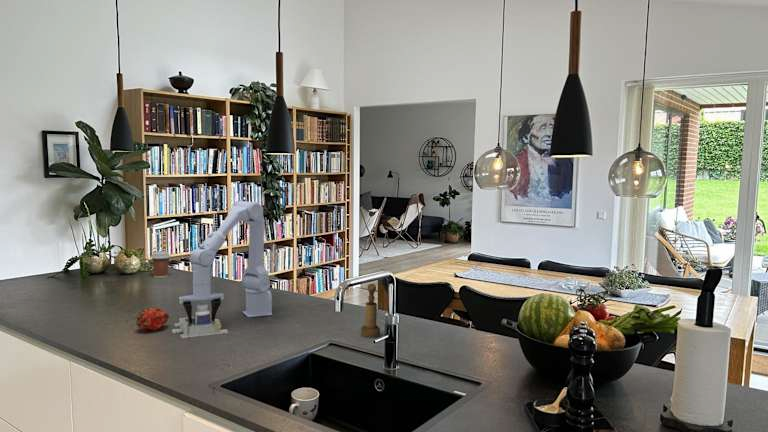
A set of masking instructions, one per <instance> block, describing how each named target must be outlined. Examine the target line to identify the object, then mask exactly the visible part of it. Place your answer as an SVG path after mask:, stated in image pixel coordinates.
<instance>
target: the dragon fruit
mask: <svg viewBox="0 0 768 432" xmlns="http://www.w3.org/2000/svg"><path fill="white" fill-rule="evenodd" d="M168 319H170V317H169V315H168V313H167V312H165V310H162V309H160V307H159V306H156V307H155V308H152V307H149V308H147V309H144V308H143V309H142V310H141V311H140V312H139V313H138V314H137V316H136V325H137V326H138V328H139V329H140V330H143V329H144V331H145V332H148V331H149V330H150V331H154V332H155V331H157V330H159V329H160V330H162V329H163V328H165V326H164V325H166V323H167V321H168Z"/></svg>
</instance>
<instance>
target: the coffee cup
mask: <svg viewBox="0 0 768 432" xmlns="http://www.w3.org/2000/svg"><path fill="white" fill-rule="evenodd" d="M150 258H151V259H152V269H153V277H154V278H159V279H161V278H167V277H168V276H169V266H170V265H169V264H170V258H171V254H169V251H154V252H153V253H152V255H151V256H150Z"/></svg>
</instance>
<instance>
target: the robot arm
mask: <svg viewBox="0 0 768 432" xmlns="http://www.w3.org/2000/svg"><path fill="white" fill-rule="evenodd" d="M229 211H230V212H229V213H228V215H227V216H226V217H225V218H224V220H223V222H222V223H221V225H219V227H218V229H217V230H216V231H211V232H209V233H208V234H207V237H206V238H205V239H204V241H203V242H201V244H199V246H198V247H197V248H194V249H193V250H192V251H191V252H190V256H189V257H188V260H189V262H190V263H191V267H192V294H190V295H183V296H178V298H179V299H178V302H179V304H182V306H183V308H184V310H185V312H186V315H187V317H188V320H189V323H190V324H191V323H192V317H193V316H192V313H193V312H192V311H193V305H192V303H196V302H208V301H210V302H211V303H210V304H211V307H210V308H211V312H210V315H211V320H212V321H215V319H216V316H217V313H218V310H219V308H220V307H221V306H220V305H221V304H222V301H224V300H225V298H224V293H223V292H222V293H220V292H219V293H217V292H216V293H211V265H212V264H213V263H214V262H215V257H216V254H217V253H218V252H219V250H220V248H221V247H222V246H223V245H224V243H226V238H225V237H226V236H227V235H228V234H229V233H231V231H232V230H233V229H234V228H235V227H236V225H237V224H238V223H240V222H245V223H246V224H247V225H249V229H248V230H249V231H248V233H249V235H248V236H249V237H248V238H249V239H248V266H247V267H246V268H245V269H244V270H243V276H242V278H241V285H242V287H243V288H244V292H245V310H243V311H242V313H243V315H245V316H246V317H247V318H255V317H264V316H273V313H272V312H273V311H272V310H273V307H272V306H273V296H272V295H273V294H272V292H271V290H269V288H270V284H271V281H270V278H269V271H268V269H266V268H265V267H264V250H265V217H264V207H263V206H262V205H261V204H260V203H259V202H257V201H246V200H237V201H235V202H234V204H232V205H231V207H230V209H229Z"/></svg>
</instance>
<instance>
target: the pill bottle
mask: <svg viewBox="0 0 768 432" xmlns="http://www.w3.org/2000/svg"><path fill="white" fill-rule="evenodd" d="M195 309H196V310H195V311H194V313H193V314H194V315H193V317H194V325H195V324H205V323H210V315H211V311H210V310H209V304H208V303H204V302H203V303H202V302H201V303H196V305H195Z"/></svg>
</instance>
